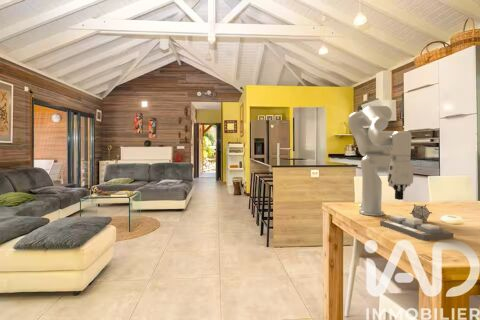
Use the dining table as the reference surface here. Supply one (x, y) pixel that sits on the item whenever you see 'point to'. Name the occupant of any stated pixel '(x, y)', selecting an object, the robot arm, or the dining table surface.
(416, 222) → the middle button
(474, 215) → the dining table surface
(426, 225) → the button
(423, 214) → the game die
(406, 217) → the button
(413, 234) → the button board
